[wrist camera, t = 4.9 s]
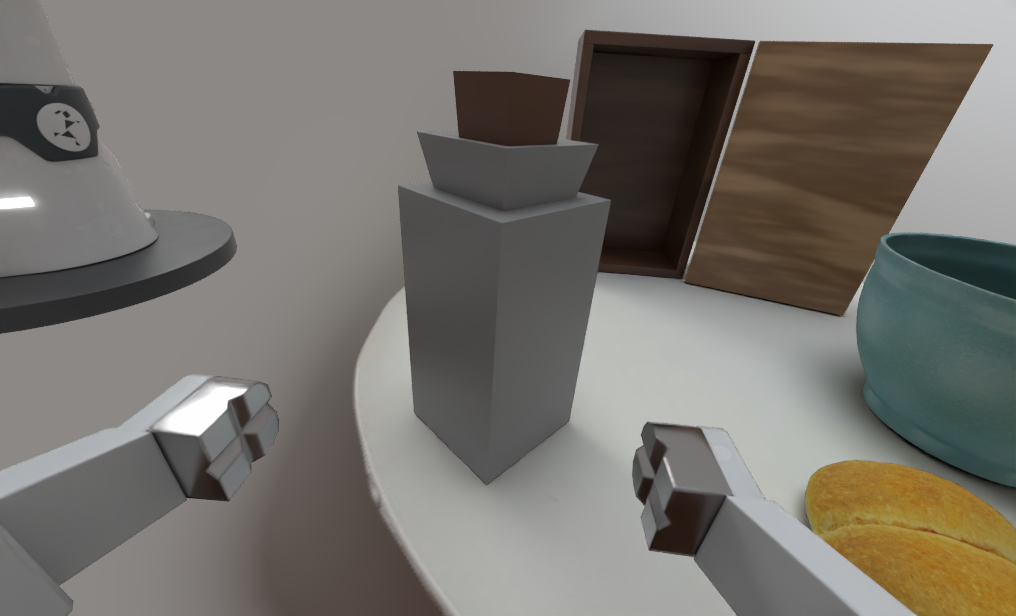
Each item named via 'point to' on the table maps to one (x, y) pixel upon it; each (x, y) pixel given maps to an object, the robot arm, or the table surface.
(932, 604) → the bread roll
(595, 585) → the table surface
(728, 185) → the cupboard door
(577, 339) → the perfume bottle
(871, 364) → the flower pot
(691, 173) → the cupboard
